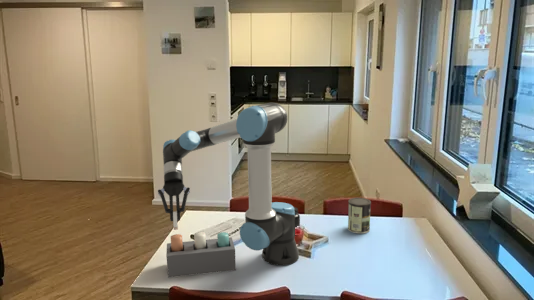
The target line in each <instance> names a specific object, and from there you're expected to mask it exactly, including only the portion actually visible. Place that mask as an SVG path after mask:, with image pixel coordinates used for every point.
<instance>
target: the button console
mask: <svg viewBox="0 0 534 300" xmlns="http://www.w3.org/2000/svg"><path fill="white" fill-rule="evenodd" d="M233 240H234V239H233V238H232V237H229V247H219V248H218V238H211V239H210V238H209V239H206V249H199V250H195V241H194V240H189V241H182V242H183V251H178V252H172V251H171V242H169V243H166V254H165V255H166V268H167V269H166V270H167V272H166V273H167V278H178V277H185V276H186V277H187V276H195V275H203V274H204V275H205V274H216V273H222V272H224V273H225V272H232V271H236V270H237V267H236V266H237V262H236V261H237V260H236V247H235V245H234V241H233Z"/></svg>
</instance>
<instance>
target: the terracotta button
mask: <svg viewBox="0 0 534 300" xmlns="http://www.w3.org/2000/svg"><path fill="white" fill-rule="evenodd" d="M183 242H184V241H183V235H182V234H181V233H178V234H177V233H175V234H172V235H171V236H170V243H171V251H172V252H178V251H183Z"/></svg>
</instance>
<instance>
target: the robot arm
mask: <svg viewBox="0 0 534 300" xmlns="http://www.w3.org/2000/svg"><path fill="white" fill-rule="evenodd" d="M287 124H288V113H287V111H286V109H285V108H284V106H282V105H281V104H279V103H277V102H266V103H262V104H258V105H251V106H248V107H246V108H244V109H243V110H241V111H240V113H239V114H238V116H237V119H234V120H231V121H227V122H223V123H220V124H218V125H215V126H212V127H208V128H204V129H201V130H199V131H194V130H191V129H189V130H186V131H185V132H183V133H182V134H181V135H180V136H179V137H178V138H177V139H169V140H166V141H164V143H163V145H162V146H163V149H162V156H163V157H162V159H163V183H164V184H163V186H162V188H161V189H158V190H157V195H158V196H159V197H160V199H161V201H162V205H163V209H164V211H165V213H166V214H169V220H170V222H173V223H172V224H173V230H174V231H175V230H179V226H178V221H179V222H180V221H181V213H184V212H185V209H186V205H187V200H188V195H189V194H190V193H191V192H190V191H191V190H190V188H191V187H186V186H185V184H184V176H183V161H182V160H183V158H184V157H186V156H187V155H188V154H190V153H192V152H195V151H198V150H202V149H205V148H208V147H212V146H216V145H219V144H223V143H225V142H229V141H232V140H237V139H240V138H241V139H242V143H243V144H244V145H243V146H245V147H246V148H247V149H246V150H247V177H248V178H247V182H248V209H247V210H246V211H245V214H244V218H245V222H244V223H242V225H241V226H240V228H239V236H240V239H241V241H242V242H243V244H245V246H246V247H247V248H249V249H250V250H253V251H261V250H262V251H261V258H262V259H263V261H264V262H265V263H267V264H269V265H273V266H287V265H288V266H289V265H292V264H294V263H296V262H297V261H299V258H300V257H299V256H300V253H299V252H300V251H299V248H298V246H297V242H296V240H295V239H296V238H295V236H296V235H295V211H294V207H295V206H293V205H292V204H291V203H288V202H287V203H286V202H278V201H275V202H272V201H273V197H272V191H273V190H272V146H273V145H274V144H276V134H278V133H280V132H281V131H282V130H283V129H285V127H286V125H287ZM182 192H183V198H182V202H181V207H180V195H181V194H182ZM165 193H166V194H167V195H168V196H169V197H168V198H169V199H168V200H169V201H168V202H169V207H168V205H167V201H166V198H165ZM174 197H175V201H176V202H175V204H176V205H175V206H176V211H174V200H173V198H174Z"/></svg>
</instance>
